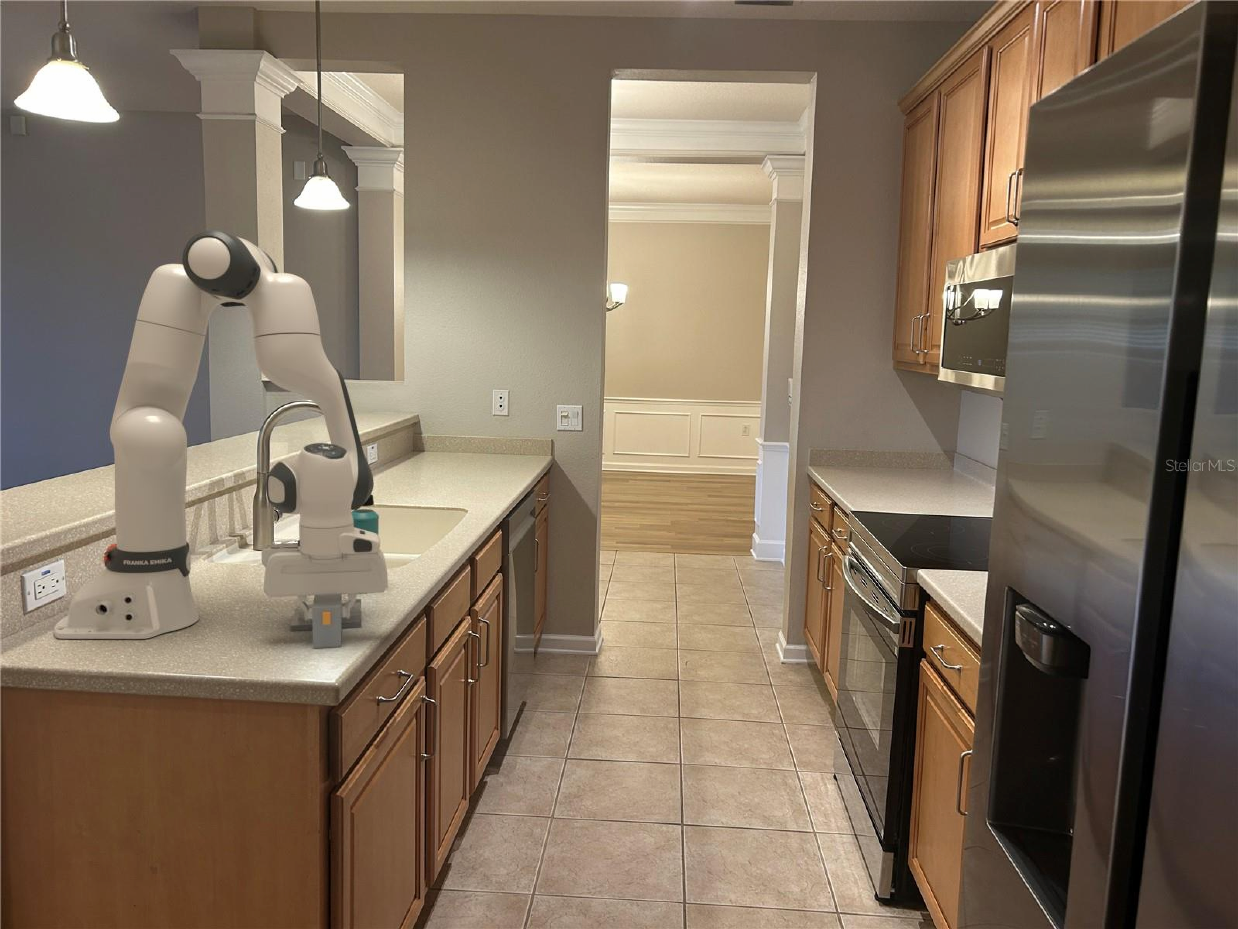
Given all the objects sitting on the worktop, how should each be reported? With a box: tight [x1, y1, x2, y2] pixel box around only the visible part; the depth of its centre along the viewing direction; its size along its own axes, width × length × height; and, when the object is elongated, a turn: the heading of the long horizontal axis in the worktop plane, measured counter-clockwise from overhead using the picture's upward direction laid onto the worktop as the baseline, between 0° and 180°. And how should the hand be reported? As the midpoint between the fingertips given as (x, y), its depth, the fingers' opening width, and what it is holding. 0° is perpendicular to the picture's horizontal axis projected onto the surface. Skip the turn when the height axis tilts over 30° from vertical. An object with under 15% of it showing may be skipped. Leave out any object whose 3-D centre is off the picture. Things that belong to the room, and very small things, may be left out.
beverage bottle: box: [351, 494, 380, 537], centre depth 187 cm, size 6×7×20 cm
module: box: [312, 594, 343, 649], centre depth 156 cm, size 4×9×7 cm, turn 16°
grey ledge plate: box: [290, 598, 362, 632], centre depth 167 cm, size 12×10×4 cm
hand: (327, 618), depth 157 cm, fingers closed on module, 4 cm apart
